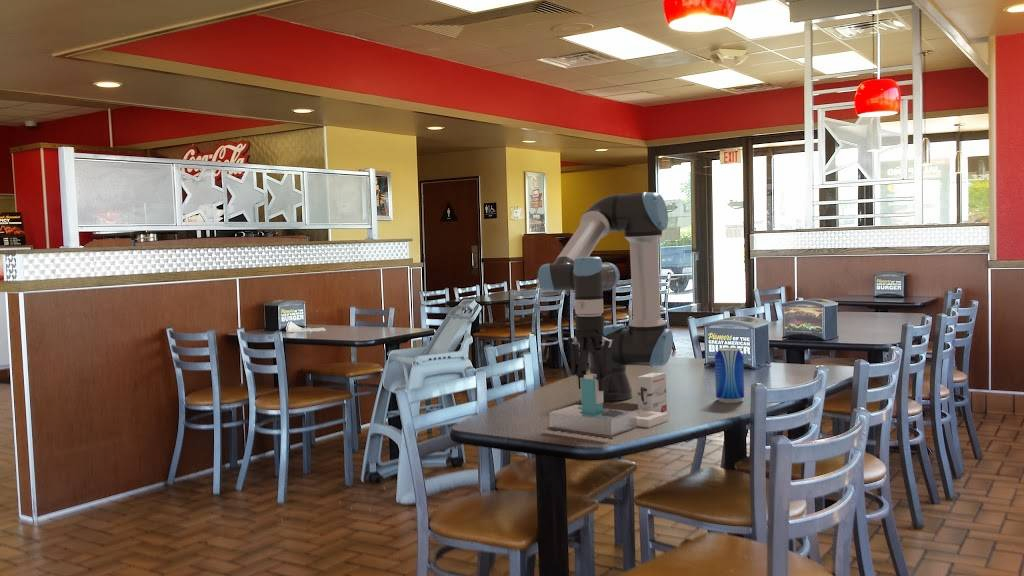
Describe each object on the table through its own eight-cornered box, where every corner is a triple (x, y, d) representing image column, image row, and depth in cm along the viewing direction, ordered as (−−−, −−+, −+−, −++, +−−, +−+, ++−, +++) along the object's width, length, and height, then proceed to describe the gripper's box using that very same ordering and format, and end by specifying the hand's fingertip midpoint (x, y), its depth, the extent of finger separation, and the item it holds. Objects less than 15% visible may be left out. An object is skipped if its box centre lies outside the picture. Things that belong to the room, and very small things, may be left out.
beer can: (745, 403, 261) (743, 350, 261) (716, 403, 263) (715, 350, 262) (743, 398, 270) (742, 346, 269) (715, 398, 271) (714, 347, 271)
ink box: (652, 411, 255) (651, 371, 254) (667, 413, 252) (666, 372, 251) (637, 417, 248) (636, 376, 247) (652, 418, 245) (651, 377, 244)
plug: (582, 423, 233) (580, 375, 232) (591, 420, 236) (589, 373, 235) (594, 425, 230) (593, 376, 229) (603, 422, 233) (601, 374, 232)
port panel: (550, 430, 235) (549, 410, 235) (576, 422, 244) (575, 402, 244) (611, 439, 222) (610, 418, 221) (637, 430, 231) (636, 410, 231)
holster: (617, 426, 236) (616, 415, 236) (637, 420, 244) (637, 409, 244) (648, 431, 230) (648, 419, 229) (668, 424, 237) (668, 413, 237)
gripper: (555, 315, 234) (558, 401, 235) (607, 317, 223) (610, 407, 224) (572, 312, 240) (575, 397, 241) (624, 314, 228) (626, 402, 230)
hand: (592, 402), depth 232 cm, fingers closed on plug, 4 cm apart
